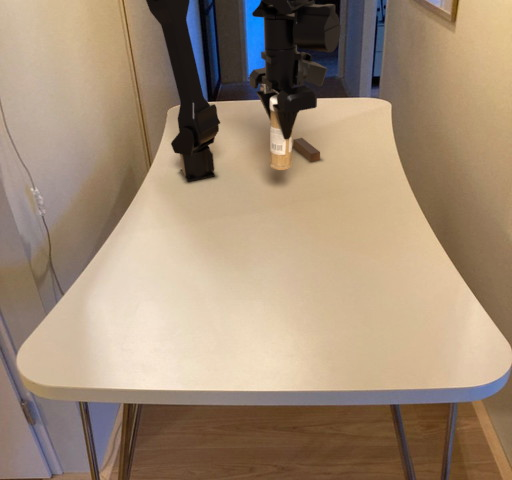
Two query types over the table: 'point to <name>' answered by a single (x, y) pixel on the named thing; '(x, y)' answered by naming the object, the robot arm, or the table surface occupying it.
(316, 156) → the walnut rail
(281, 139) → the spice jar
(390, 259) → the table surface
